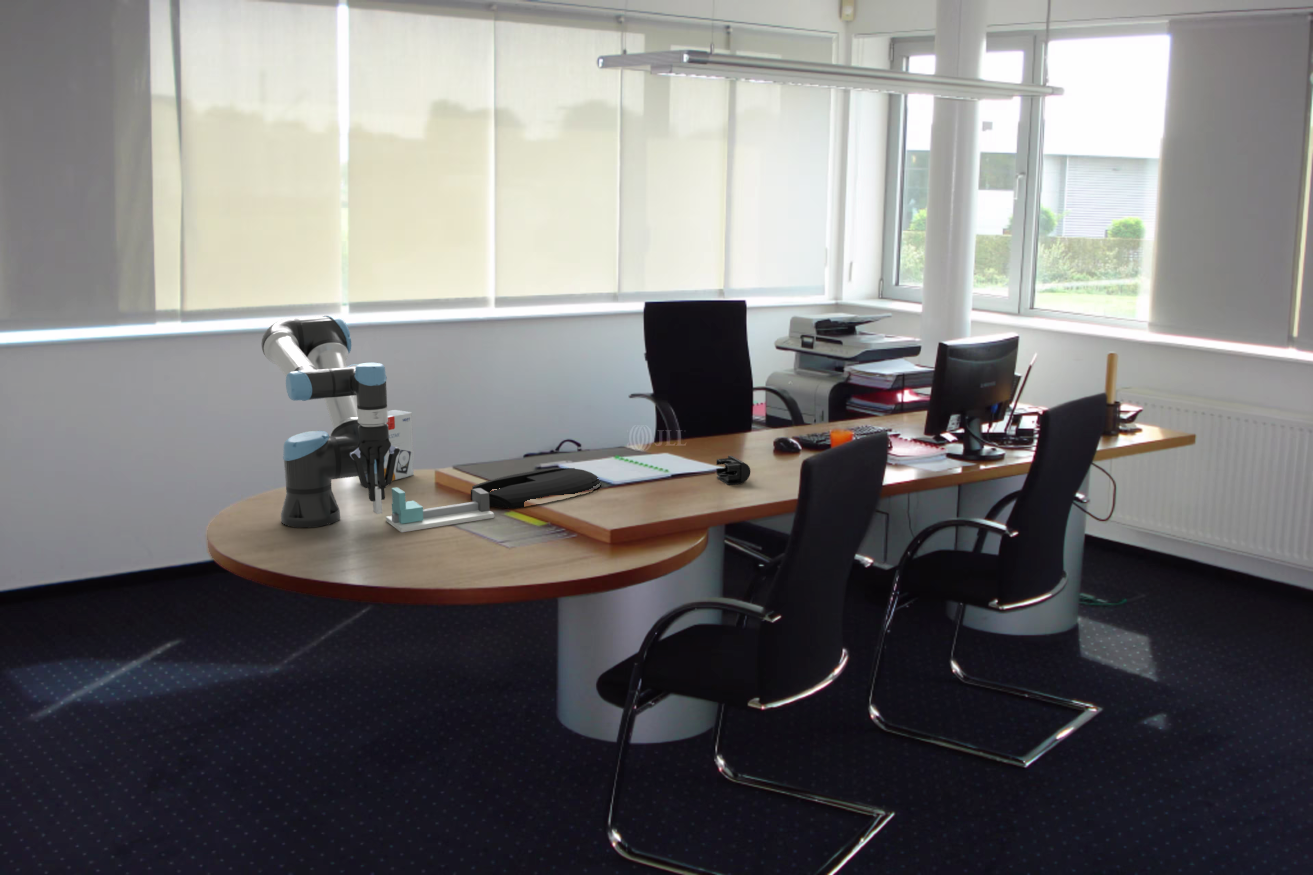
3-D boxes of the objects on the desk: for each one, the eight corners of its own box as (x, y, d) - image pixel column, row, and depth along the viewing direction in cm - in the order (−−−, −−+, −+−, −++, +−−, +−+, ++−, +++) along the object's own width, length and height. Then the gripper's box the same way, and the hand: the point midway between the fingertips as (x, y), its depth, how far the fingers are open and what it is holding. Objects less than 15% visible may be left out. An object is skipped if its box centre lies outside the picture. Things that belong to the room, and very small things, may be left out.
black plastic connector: (750, 483, 355) (751, 462, 354) (728, 486, 353) (729, 463, 351) (736, 476, 364) (737, 454, 363) (715, 477, 362) (715, 456, 360)
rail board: (401, 532, 307) (400, 509, 305) (386, 520, 317) (384, 498, 315) (494, 517, 320) (493, 495, 318) (476, 507, 330) (476, 485, 328)
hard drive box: (378, 486, 352) (375, 420, 347) (360, 482, 356) (356, 417, 351) (415, 474, 365) (412, 411, 360) (396, 471, 369) (393, 408, 364)
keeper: (401, 523, 309) (400, 493, 307) (392, 517, 315) (390, 487, 313) (423, 520, 312) (422, 490, 310) (414, 513, 318) (412, 484, 316)
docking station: (620, 489, 350) (619, 473, 349) (503, 514, 324) (502, 496, 323) (570, 473, 368) (570, 457, 367) (456, 495, 343) (456, 478, 342)
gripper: (352, 429, 297) (357, 519, 302) (402, 423, 304) (406, 512, 309) (343, 423, 303) (348, 512, 308) (392, 418, 310) (397, 505, 315)
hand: (377, 512), depth 309 cm, fingers closed
